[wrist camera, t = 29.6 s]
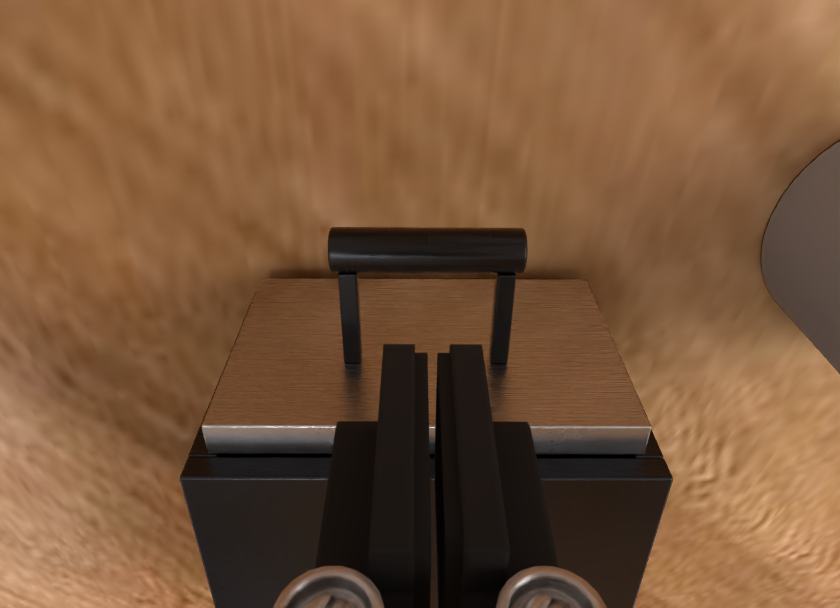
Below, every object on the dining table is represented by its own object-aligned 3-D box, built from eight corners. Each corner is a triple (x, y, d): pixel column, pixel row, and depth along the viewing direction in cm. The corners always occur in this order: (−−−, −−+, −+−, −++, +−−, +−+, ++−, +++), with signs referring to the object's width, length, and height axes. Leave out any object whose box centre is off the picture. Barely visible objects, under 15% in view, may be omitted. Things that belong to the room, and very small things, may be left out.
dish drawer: (244, 164, 24) (167, 285, 17) (605, 166, 24) (690, 287, 17) (296, 525, 35) (263, 696, 28) (545, 525, 35) (580, 696, 28)
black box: (255, 290, 28) (178, 478, 19) (591, 291, 28) (674, 478, 19) (293, 539, 37) (252, 747, 28) (548, 539, 37) (591, 747, 28)
